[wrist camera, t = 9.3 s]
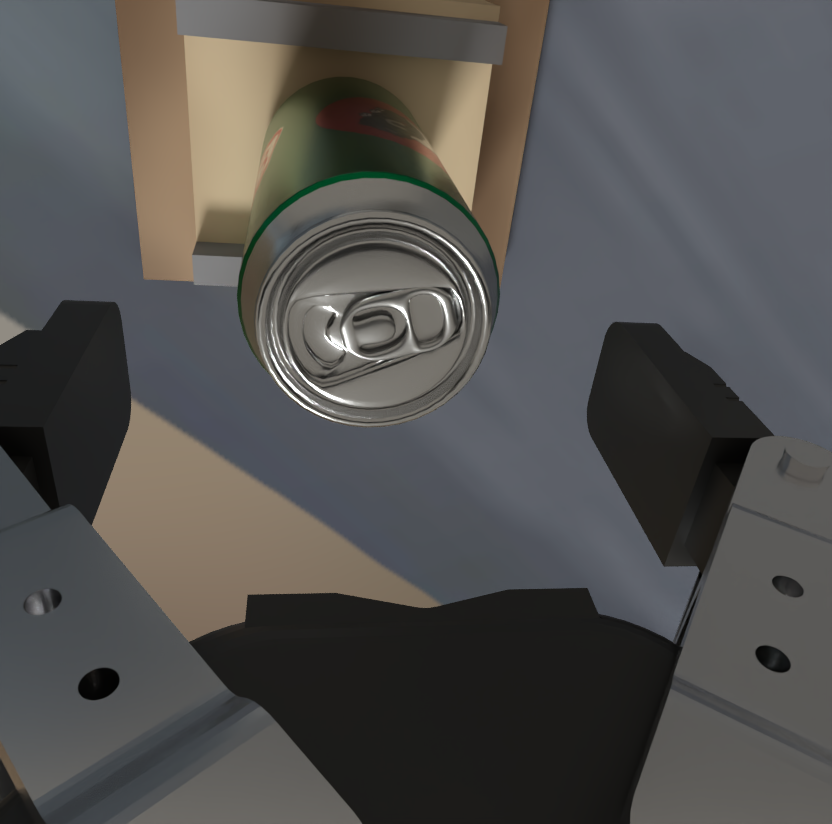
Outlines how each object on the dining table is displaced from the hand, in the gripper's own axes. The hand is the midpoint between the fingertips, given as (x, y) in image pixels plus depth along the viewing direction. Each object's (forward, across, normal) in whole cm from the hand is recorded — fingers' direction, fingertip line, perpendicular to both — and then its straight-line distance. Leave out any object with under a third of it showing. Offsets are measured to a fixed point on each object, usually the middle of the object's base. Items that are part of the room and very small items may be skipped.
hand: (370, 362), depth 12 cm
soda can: (+13, 0, 0) cm, 13 cm away
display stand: (+18, 0, 0) cm, 18 cm away
